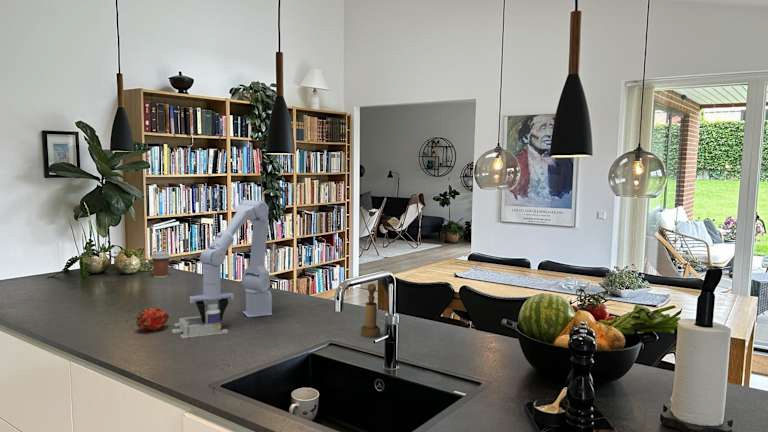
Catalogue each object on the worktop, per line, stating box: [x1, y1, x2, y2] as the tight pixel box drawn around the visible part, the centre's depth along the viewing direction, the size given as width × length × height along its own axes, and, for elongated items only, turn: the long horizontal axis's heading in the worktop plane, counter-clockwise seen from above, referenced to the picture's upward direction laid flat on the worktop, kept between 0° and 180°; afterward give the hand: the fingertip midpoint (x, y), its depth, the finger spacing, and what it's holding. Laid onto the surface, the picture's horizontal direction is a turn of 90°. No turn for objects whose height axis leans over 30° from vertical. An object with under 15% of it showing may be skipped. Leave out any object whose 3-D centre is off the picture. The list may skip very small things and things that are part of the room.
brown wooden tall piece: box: [360, 283, 381, 339], centre depth 187 cm, size 7×6×18 cm
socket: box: [171, 315, 229, 339], centre depth 188 cm, size 17×16×3 cm
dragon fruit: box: [136, 306, 170, 332], centre depth 186 cm, size 8×8×12 cm
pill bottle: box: [205, 301, 221, 323], centre depth 189 cm, size 5×5×9 cm
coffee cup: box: [150, 251, 171, 279], centre depth 270 cm, size 9×9×12 cm
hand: (211, 321), depth 190 cm, fingers open, 5 cm apart
